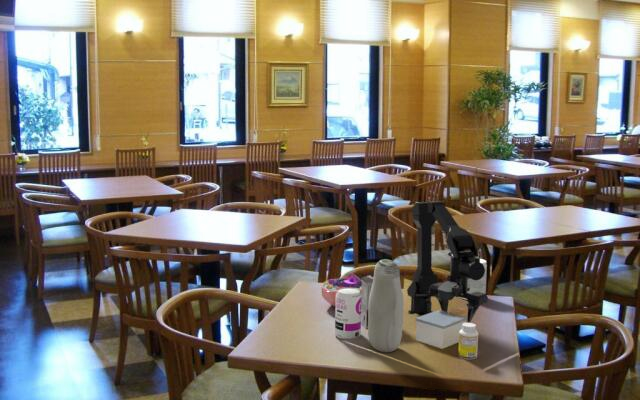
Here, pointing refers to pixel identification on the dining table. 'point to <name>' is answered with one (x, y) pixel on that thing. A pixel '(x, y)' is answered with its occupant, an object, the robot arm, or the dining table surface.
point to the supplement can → (348, 313)
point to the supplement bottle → (468, 341)
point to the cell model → (339, 287)
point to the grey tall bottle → (385, 307)
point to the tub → (438, 334)
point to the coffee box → (365, 299)
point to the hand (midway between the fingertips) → (456, 319)
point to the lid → (443, 318)
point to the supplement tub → (478, 282)
